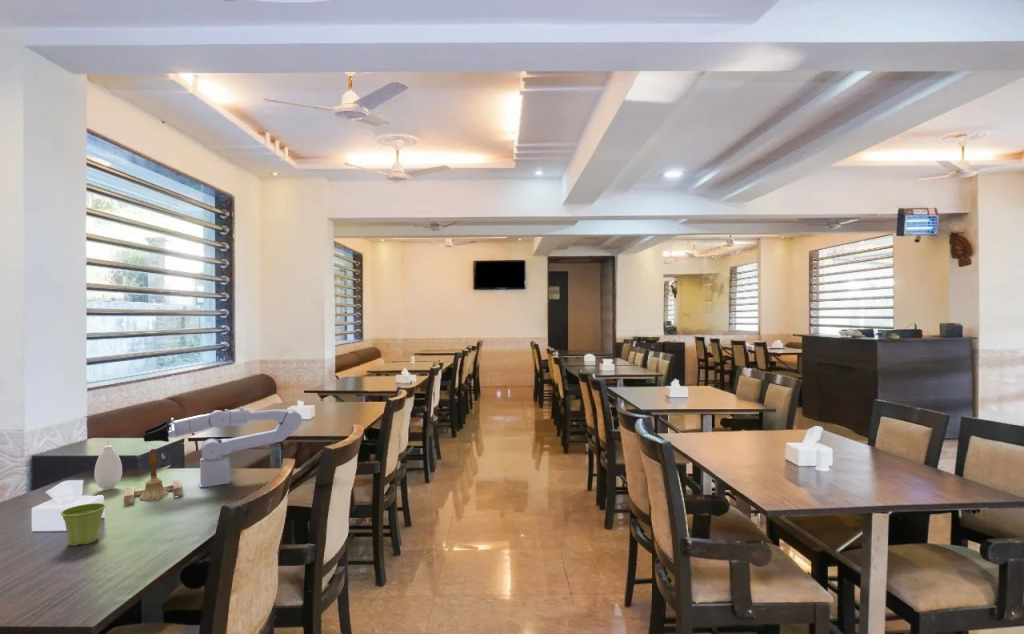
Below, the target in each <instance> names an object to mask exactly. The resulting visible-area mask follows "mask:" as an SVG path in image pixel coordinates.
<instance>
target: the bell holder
mask: <svg viewBox="0 0 1024 634" xmlns="http://www.w3.org/2000/svg"><path fill="white" fill-rule="evenodd" d="M135 487H136V486H130V487H125V490H124V496H123V502H124V503H123V506H124V505H125V506H128V505H127V504H131V505H134V503H135V498H134V497H139V496H138V495H142V494H143V493H144V491H145V488H141V489H136V488H135ZM163 488H164V490H165V491H167V492H169V491H168V490H173V491H172V493H173V494H174V495H173V498H174V497H175V496H181V497H183V496H184V495H183V483H182V480H181V479H179V480H173V481H172V484H169V485H168V484H166V485H163ZM175 498H176V497H175Z"/></svg>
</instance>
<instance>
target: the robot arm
mask: <svg viewBox="0 0 1024 634" xmlns="http://www.w3.org/2000/svg"><path fill="white" fill-rule="evenodd" d="M272 420H273V421H275V422H278V424H277V425H276V427H275V428H274V429H271V430H267V431H262V432H256V433H251V434H246V435H240V436H236V437H231V438H230V437H229V438H221V439H218V438H208V439H206V440H204V441H203V443H202V444H201V448H200V449H201V456H202V457H201V458H200V459H199V461H200V462H199V470H200V471H199V472H200V474H199V476H200V481H198V486H199V488H208V487H215V486H220V485H227V484H231V480H230V479H231V471H230V469H231V468H230V465H231V464H230V458H229V457H228V456H227V457H224V456H226V455H228V454H230V453H232V452H238V451H242V450H246V449H251V448H256V447H260V446H267V445H271V444H276V443H279V442H284V441H285V440H286V439H287V438H288V437H290V436H291V435H292V434H293V433H294V432H296V431H298V429H299V427H300V426H301V425H302V421H303V417H302V415H301V414H300V413H299V412H297V411H296V410H294V409H291V408H290V409H284V408H283V409H281V408H279V409H267V410H260V411H258V410H257V411H249V410H248V408H244V407H239V409H228V408H226V409H224V411H223V410H220V409H219V410H218V409H215V410H212V411H211V412H210V413H205V414H199V415H195V416H190V417H184V418H181V419H177V420H176V419H174V417H171V418H170V421H171V422H170V423H169V424H168V420H167V419H165V420H164V421H163V422H161V423H159V424H158V425H155V426H153V427H150V428H147V429H145V430H144V434H143V435H142V437H143V441H144V442H145V443H146V442H166V443H167V442H170V439H169V438H172V437H173V438H175V439H176V438H178V437H181V436H182V437H183V436H185V435H190V434H194V433H199V432H203V431H207V430H209V429H213V428H217V429H218V428H219V429H222V428H224V427H225V426H227V427H229V426H230V427H232V426H233V427H234V426H243V425H244V426H245V425H246V426H247V425H248V424H249V423H251V421H272Z"/></svg>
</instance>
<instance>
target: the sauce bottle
mask: <svg viewBox="0 0 1024 634" xmlns="http://www.w3.org/2000/svg"><path fill="white" fill-rule="evenodd" d="M93 475H94V480H95V482H96V485H97V486H98V487H99V488H101V490H104V491H106V490H107V491H110V490H109V489H112V490H113V489H114V488H116V486H118V485H119V484H120V482H121V480H122V475H123V465H122V460H121V458H120V456H119V454H118V452H117V451H116V450H115V448H114V446H113V445H110V440H109V438H108V439H107V445H105V446H104V447H103V449H102V450H101V452H100V454H99V455H98V457H97V460H96V463H95V466H94V474H93Z"/></svg>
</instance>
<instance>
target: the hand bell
mask: <svg viewBox="0 0 1024 634" xmlns="http://www.w3.org/2000/svg"><path fill="white" fill-rule="evenodd" d="M149 451H150V452H149V455H148V465H149V467H150V479H148V480H147V481H146V482H145V488H144V489H145V491H144V493H143V494H142V495H141V496H139V498H138V499H140V501H142V500H149V501H152V500H151V499H156V500H158V499H157V498H161V497H164V496H166V495H168V494H169V491H167V492H166V491H165V490H164V488H163V486H164V484H163V480H162V479H160V478H158V475H157V465H158V457H159V456H158V453H157V452H156V449H155V448H152V449H150V450H149ZM168 496H169V495H168ZM166 497H167V496H166ZM164 498H165V497H164ZM161 499H162V498H161Z"/></svg>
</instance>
